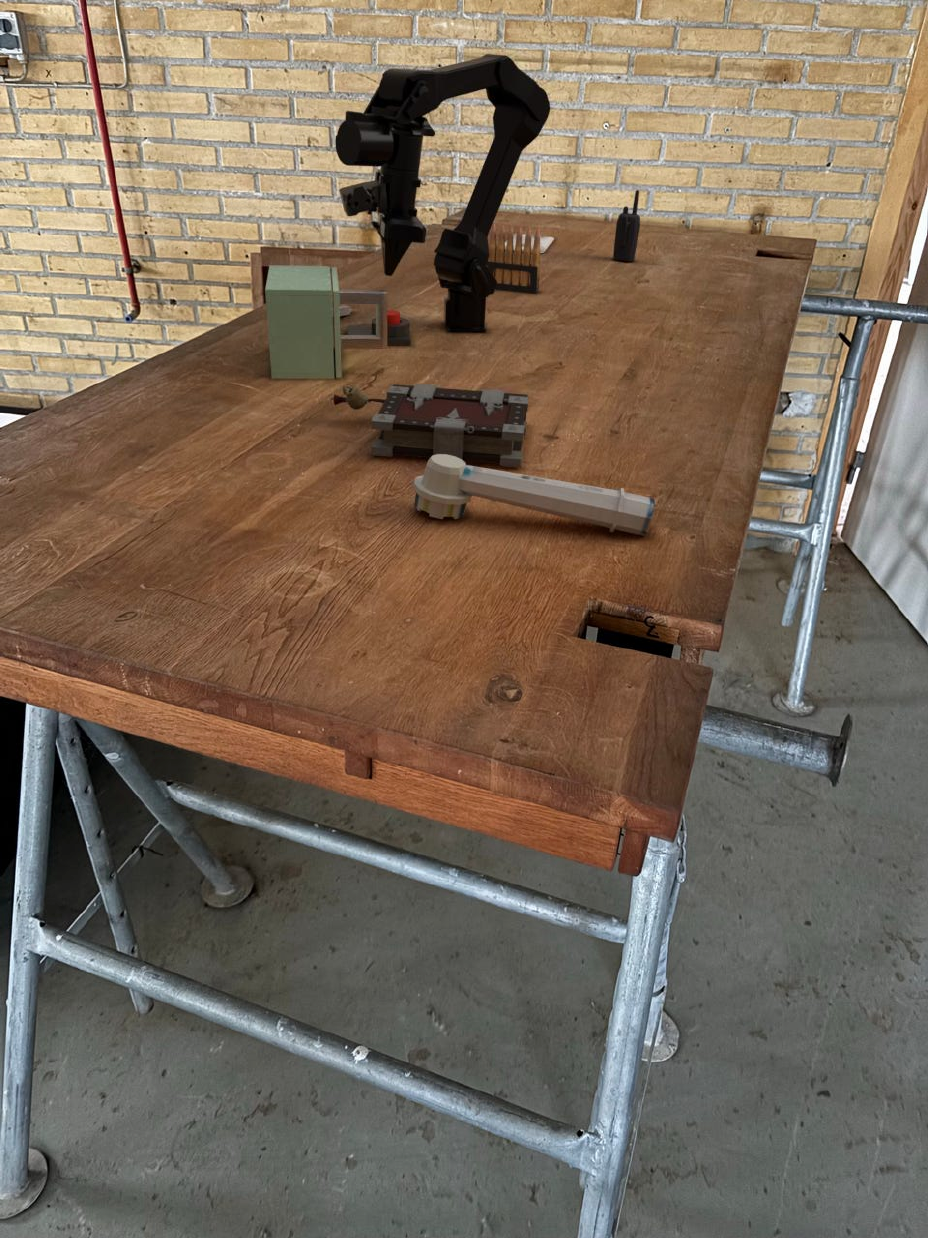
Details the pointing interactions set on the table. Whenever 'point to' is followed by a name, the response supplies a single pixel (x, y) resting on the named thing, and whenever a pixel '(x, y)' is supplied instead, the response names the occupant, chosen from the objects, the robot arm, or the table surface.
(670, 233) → the table surface
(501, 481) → the toothbrush head
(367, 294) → the cabinet door
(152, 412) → the table surface
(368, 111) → the robot arm
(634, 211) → the two-way radio
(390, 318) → the release button
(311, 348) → the cabinet
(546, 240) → the tile
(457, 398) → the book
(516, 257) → the ammunition clip
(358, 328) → the button block
